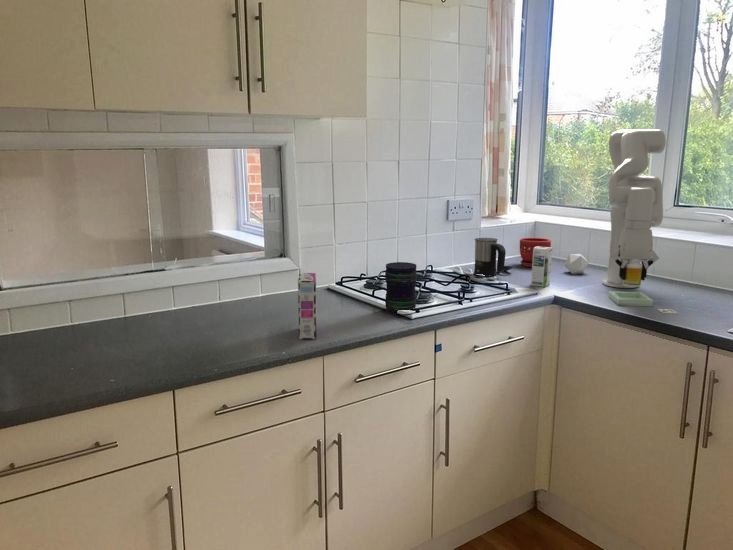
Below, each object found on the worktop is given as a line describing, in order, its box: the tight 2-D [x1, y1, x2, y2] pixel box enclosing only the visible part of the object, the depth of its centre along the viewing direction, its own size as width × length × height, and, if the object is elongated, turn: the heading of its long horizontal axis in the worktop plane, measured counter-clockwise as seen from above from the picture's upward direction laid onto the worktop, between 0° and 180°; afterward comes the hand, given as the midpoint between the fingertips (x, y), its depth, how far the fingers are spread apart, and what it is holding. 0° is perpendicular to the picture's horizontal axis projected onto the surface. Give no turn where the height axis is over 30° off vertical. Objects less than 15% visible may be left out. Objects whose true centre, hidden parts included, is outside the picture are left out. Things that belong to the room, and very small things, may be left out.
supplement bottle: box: [623, 259, 642, 288], centre depth 191 cm, size 5×5×10 cm
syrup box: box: [530, 246, 553, 288], centre depth 215 cm, size 6×6×14 cm
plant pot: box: [519, 237, 552, 268], centre depth 251 cm, size 13×13×12 cm
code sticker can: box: [657, 308, 677, 314], centre depth 181 cm, size 4×4×1 cm
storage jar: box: [384, 261, 418, 316], centre depth 181 cm, size 10×10×15 cm
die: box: [564, 253, 589, 275], centre depth 237 cm, size 8×9×10 cm
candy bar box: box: [297, 272, 318, 341], centre depth 159 cm, size 11×5×16 cm, turn 5°
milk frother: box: [473, 237, 515, 277], centre depth 235 cm, size 14×16×15 cm
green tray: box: [607, 291, 654, 307], centre depth 193 cm, size 11×11×2 cm
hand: (632, 278), depth 191 cm, fingers closed on supplement bottle, 5 cm apart
